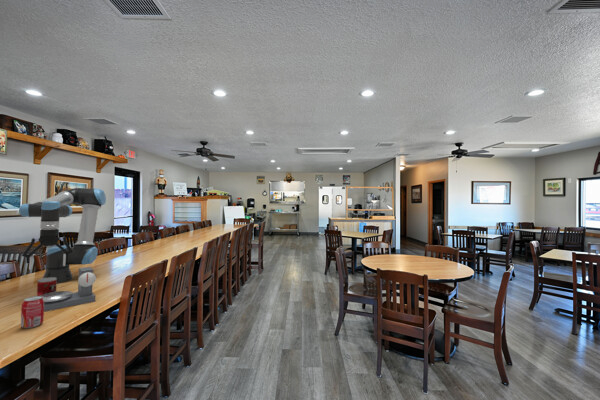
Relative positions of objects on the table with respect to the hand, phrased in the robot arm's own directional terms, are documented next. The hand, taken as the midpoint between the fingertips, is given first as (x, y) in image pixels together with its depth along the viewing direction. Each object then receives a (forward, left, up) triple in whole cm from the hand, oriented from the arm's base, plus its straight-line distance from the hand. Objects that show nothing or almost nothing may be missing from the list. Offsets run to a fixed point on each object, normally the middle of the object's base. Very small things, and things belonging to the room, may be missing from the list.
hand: (47, 267), depth 146 cm
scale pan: (+14, +2, -14) cm, 20 cm away
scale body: (+14, +6, -18) cm, 23 cm away
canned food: (0, 0, -18) cm, 18 cm away
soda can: (+37, -7, -18) cm, 41 cm away
